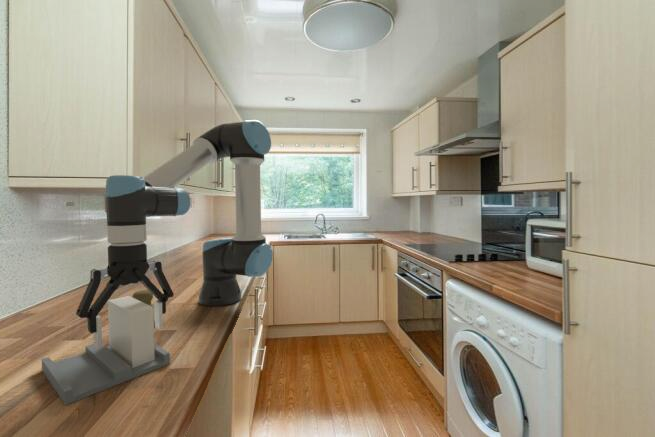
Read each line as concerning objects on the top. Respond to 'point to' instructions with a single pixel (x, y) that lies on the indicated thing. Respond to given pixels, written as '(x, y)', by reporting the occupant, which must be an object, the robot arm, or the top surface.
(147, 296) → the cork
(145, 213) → the robot arm
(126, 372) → the grey grooved stand
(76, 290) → the top surface
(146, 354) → the clay block
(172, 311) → the top surface
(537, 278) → the top surface
